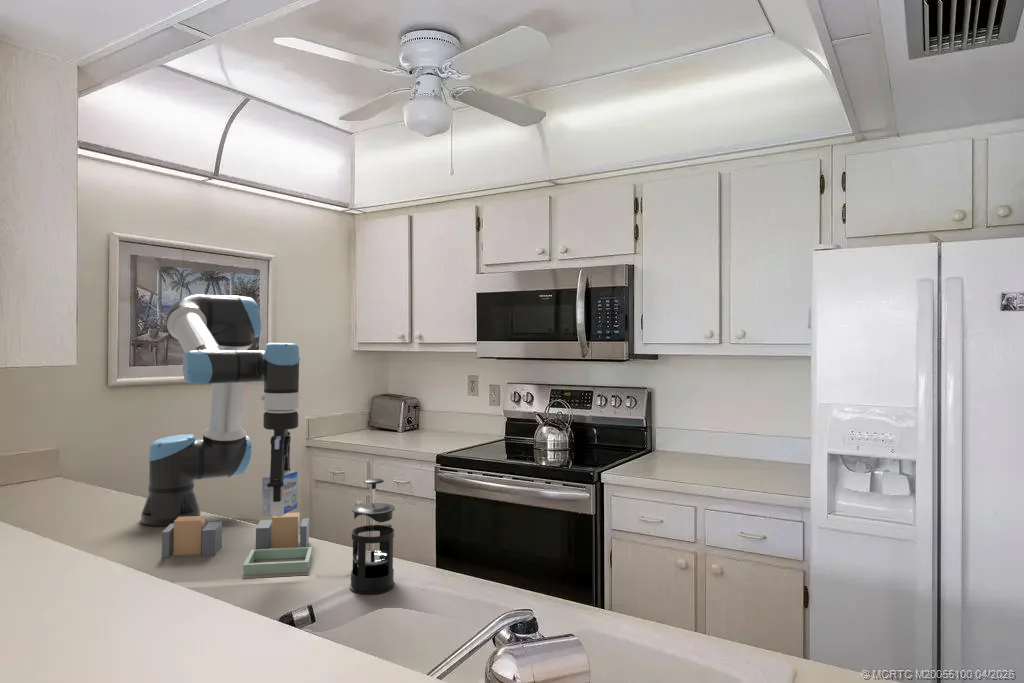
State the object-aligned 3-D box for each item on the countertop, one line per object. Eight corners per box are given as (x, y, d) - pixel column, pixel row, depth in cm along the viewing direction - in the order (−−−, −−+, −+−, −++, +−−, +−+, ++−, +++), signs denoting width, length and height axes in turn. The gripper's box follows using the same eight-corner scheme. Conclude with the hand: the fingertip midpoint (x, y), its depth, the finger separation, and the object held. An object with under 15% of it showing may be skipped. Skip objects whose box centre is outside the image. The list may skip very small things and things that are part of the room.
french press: (378, 598, 139) (380, 486, 138) (339, 592, 142) (340, 482, 141) (406, 579, 150) (407, 475, 149) (369, 573, 153) (370, 471, 153)
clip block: (170, 552, 165) (170, 523, 165) (308, 545, 171) (309, 518, 171) (161, 562, 158) (162, 532, 158) (306, 555, 165) (306, 526, 164)
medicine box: (279, 517, 150) (280, 478, 150) (261, 515, 151) (261, 476, 151) (297, 508, 158) (298, 470, 158) (280, 506, 159) (280, 469, 159)
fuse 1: (178, 549, 164) (178, 516, 164) (204, 548, 165) (205, 515, 165) (173, 555, 160) (173, 521, 160) (200, 553, 161) (201, 520, 161)
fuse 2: (274, 545, 168) (274, 513, 168) (299, 544, 169) (299, 512, 169) (271, 550, 164) (272, 517, 164) (297, 549, 166) (298, 516, 165)
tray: (251, 562, 158) (251, 549, 158) (312, 559, 161) (312, 546, 161) (243, 579, 148) (243, 565, 148) (308, 575, 151) (308, 561, 151)
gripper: (270, 405, 164) (269, 498, 164) (255, 416, 143) (254, 523, 143) (302, 405, 165) (301, 497, 166) (293, 416, 144) (291, 522, 145)
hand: (279, 509), depth 154 cm, fingers closed on medicine box, 9 cm apart
